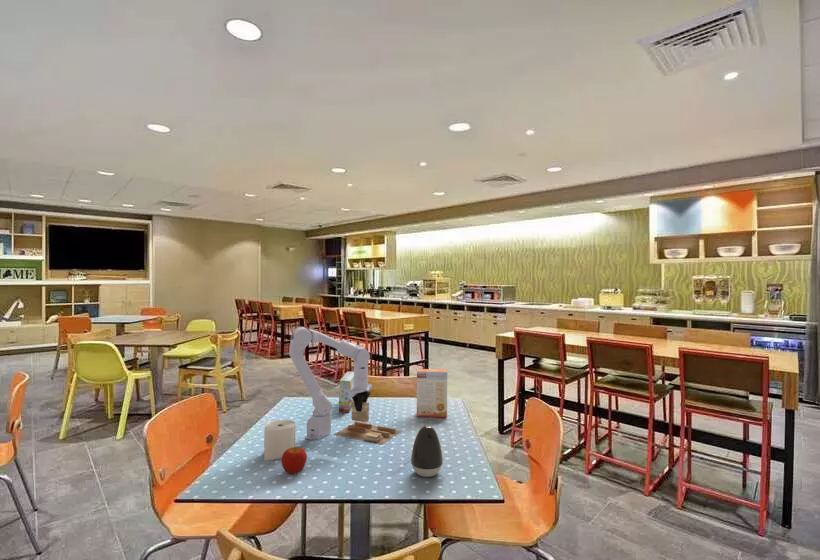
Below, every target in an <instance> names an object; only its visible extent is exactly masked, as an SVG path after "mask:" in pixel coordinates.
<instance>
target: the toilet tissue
mask: <svg viewBox="0 0 820 560" xmlns="http://www.w3.org/2000/svg"><path fill="white" fill-rule="evenodd" d="M296 424H297V423H296V422H295V421H294V420H291V419H289V420H288V419H278V420H273V421H270V422H267V423H266V424H264V429H263V430H264V431H263V432H264V434H263V435H264V436H263V437H264V438H263V448H264V449H263V455H264V456H263V457H264V458H263V461H272V460H276V459H278V460H279V459H281V458H282V455H283V453H284V452H285V451H286V450H287V449H289V448H293V447H296V436H297V435H296V431H297V430H296V429H297V428H296V427H297V425H296Z"/></svg>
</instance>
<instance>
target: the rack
mask: <svg viewBox="0 0 820 560" xmlns="http://www.w3.org/2000/svg"><path fill="white" fill-rule="evenodd" d="M369 432H375V433H380V434H382V436H383V439H382V440H381V441H379V442H378V443H377V442H373V441H368V440H364V437H365V434H367V433H369ZM402 432H403V431H402V430H397V429H396V428H394V427H388V426H382V425H373V424H372V423H369V422H367V423H365V422H359V421H354V423H353V424H348V425H347V427H345V428H343V429H341V430H339V431H337V432H335V433H334V434H333V435H335V436H339V437H344V438H348V439H349V438H350V439H353V440H358V441H362V442H367V443H372V444H377V445H382V446H383V445H384V444H385V443H387V442H389V441H391V439H393V438H394V437H396V436H398V435H400V434H401V433H402Z"/></svg>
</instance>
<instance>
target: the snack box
mask: <svg viewBox="0 0 820 560" xmlns="http://www.w3.org/2000/svg"><path fill="white" fill-rule="evenodd" d="M338 388H339V391H338V395H339V396H338V413H345V412H346V414H347V413H350V411H351V410H352V401H353V399H352V397H349V391H351V390H352V389H353V388H354V371H346V372H345V374H344V375H343V376H342V378H340V380H339V387H338Z"/></svg>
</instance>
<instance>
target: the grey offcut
mask: <svg viewBox="0 0 820 560" xmlns="http://www.w3.org/2000/svg"><path fill="white" fill-rule="evenodd" d="M382 439H383V436H381V437H380V438H378V439H372V438H367V437H364V440H368V441H373V442H377V443H378V442H379V441H381V440H382Z"/></svg>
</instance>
